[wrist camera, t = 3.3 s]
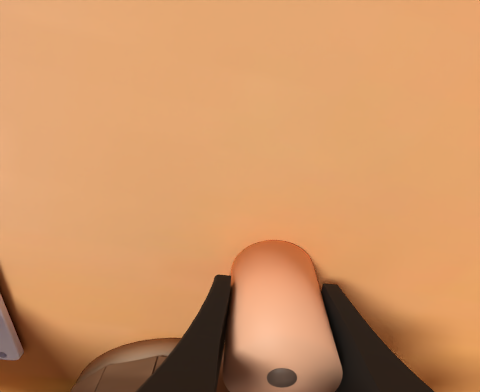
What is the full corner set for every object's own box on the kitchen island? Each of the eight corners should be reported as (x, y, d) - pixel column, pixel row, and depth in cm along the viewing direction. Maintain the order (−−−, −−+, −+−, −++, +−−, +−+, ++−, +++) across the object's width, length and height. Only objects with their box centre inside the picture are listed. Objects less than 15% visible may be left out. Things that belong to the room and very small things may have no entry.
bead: (228, 300, 15) (219, 407, 11) (234, 236, 13) (225, 333, 9) (305, 306, 15) (328, 415, 11) (321, 244, 13) (356, 344, 9)
